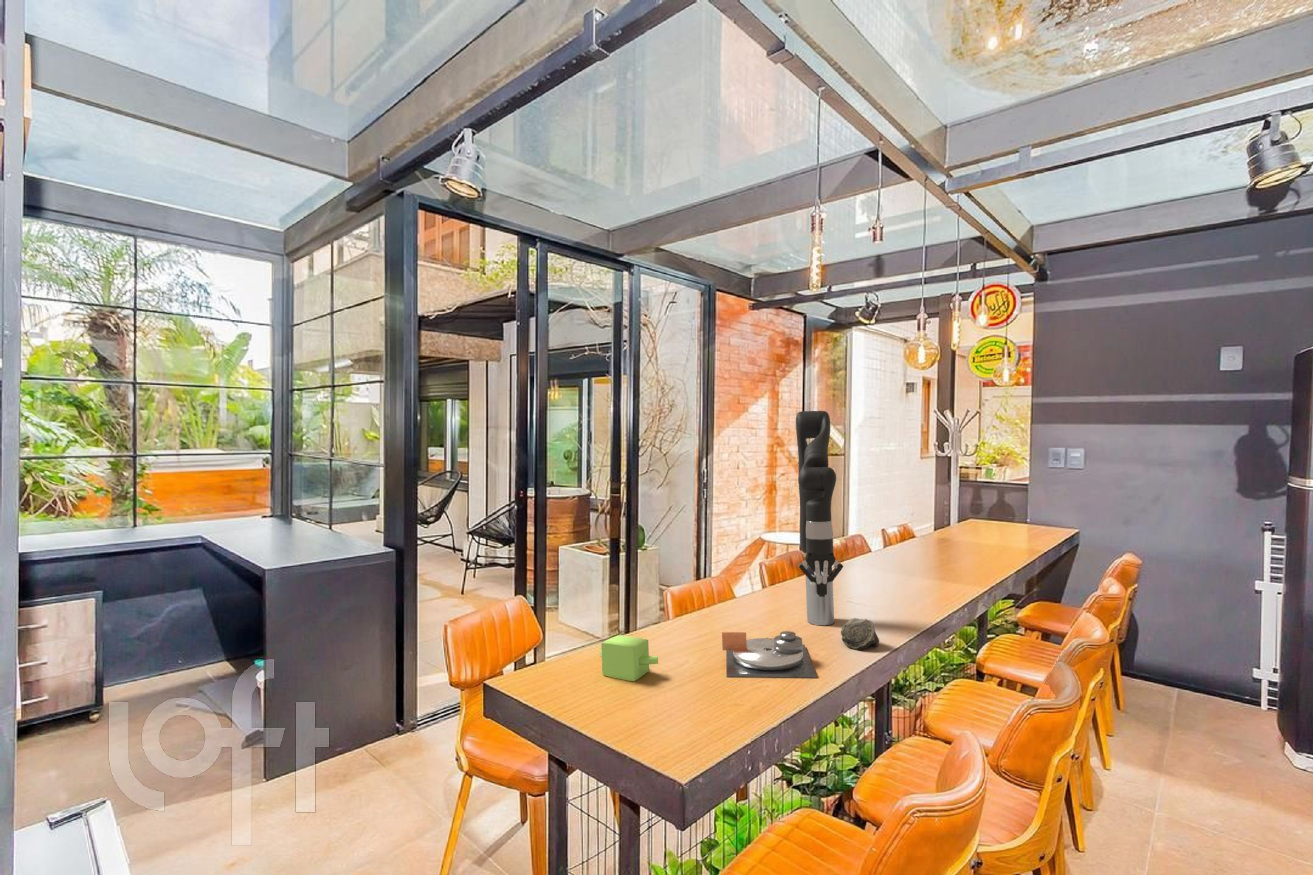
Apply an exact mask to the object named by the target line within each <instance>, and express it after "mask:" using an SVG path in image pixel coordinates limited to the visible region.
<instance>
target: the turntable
mask: <svg viewBox="0 0 1313 875" xmlns="http://www.w3.org/2000/svg"><path fill="white" fill-rule="evenodd" d="M721 638H722V639H721V640H722V641H721V642H722V651H726V650H733V658H734V660H735V661H736V662H737V663H739V664H741V665H743V666H746V667H750V668H754V669H761V670H781V669H788V668H792V667H795V666H797V665H799V664H800V663H801V662H802V661H803V651H802V652H801V653H798V654H782V653H778V652H776V651H775V650H774V638H775V637H774V638H773V637H772V638H770V637H761V638H760V637H759V638H749V639H747V632H742V631H741V632H735V631H734V632H732V631H731V632H728V631H727V632H724V631H723V632H721Z"/></svg>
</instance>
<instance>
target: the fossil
mask: <svg viewBox="0 0 1313 875" xmlns="http://www.w3.org/2000/svg"><path fill="white" fill-rule="evenodd" d="M840 635H841V641H842V642H843V644H844V645H845V646H847V648H849V649H851V650H855V651H856V650H857V651H861V650H865V649H868V648H869V647H870V645H871V644H872V645H873V646H874V647H878V646H879V643H880V638H879V637H878V634H877V633H876V629H875V626H874V624H873V622H872V621H871V620H870V619H867V618H856V617H853V618H851V619H850V620H848V621H847V622H846V623H844V624H843V625H842V627H841V630H840Z"/></svg>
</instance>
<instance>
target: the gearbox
mask: <svg viewBox="0 0 1313 875" xmlns="http://www.w3.org/2000/svg"><path fill="white" fill-rule="evenodd" d="M649 652H650V650H649V639H646V638H641V637H638V636H637V637H636V636H629V635H622V634H618V635H615V636H612V637H610V638H608V639H606V640H604V641H603V642H602V643H601V650H600V651H599V654H600V656H599V657H600V658H601V668H602V669H601V670H602V672H601V673H602V676H605V677H610V678H613V679H618V680H623V681H629V682H630V681H631V682H636V681H638V680H639V679H640V678H641V677H643V676H644V675H645V674H647V673H649V671H650V665H657V664H659V657H658V655H650V653H649Z"/></svg>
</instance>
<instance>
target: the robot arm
mask: <svg viewBox="0 0 1313 875" xmlns="http://www.w3.org/2000/svg"><path fill="white" fill-rule="evenodd" d="M795 430H796V432H795V433H796V442H797V452H798V453H797V455H798V456H797V457H798V478H797V481H798V494H799V511H800V512H799V514H800V516H799V517H800V520H799V547H800V549H801V552H802V553H804V554H805V558H804V560H803V561H802V562H799V563H798V568H799V569H800V570H801V571H802V573H803V574H804V575H805V576H804V577H805V597H806V598H805V599H806V621H807V622H808V623H809V624H811V625H816V626H830V625H834V623H835V610H834V609H835V607H834V606H835V605H834V604H835V603H834V582H833V581H834V580H835V579H836V578H837V576H838V575H839V573H840V572H841V570H843V568H844V565H843V564H842V562H839V561H837V560H836V556H835V554H834V529H833V523H832V498H833V494H834V490H835V487H836V484H837V474H836V472H835V470H834V469H833V468H831V466H829V454H828V451H829V445H830V444H829V443H830V439H831V418H830V414H829V412H827V411H825V410H805V411H802V410H801V411H798V412H797V413H796V416H795ZM807 439H812V440H811V441H809V443H808V441H807Z"/></svg>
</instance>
